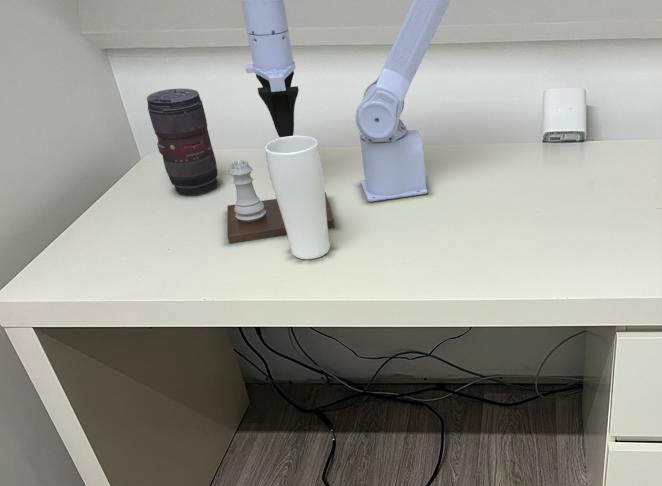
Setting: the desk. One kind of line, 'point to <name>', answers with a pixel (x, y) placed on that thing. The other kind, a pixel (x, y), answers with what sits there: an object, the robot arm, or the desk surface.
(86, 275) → the desk surface
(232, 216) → the walnut board
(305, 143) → the drinking glass
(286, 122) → the robot arm
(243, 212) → the rook chess piece
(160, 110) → the camera lens
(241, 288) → the desk surface
